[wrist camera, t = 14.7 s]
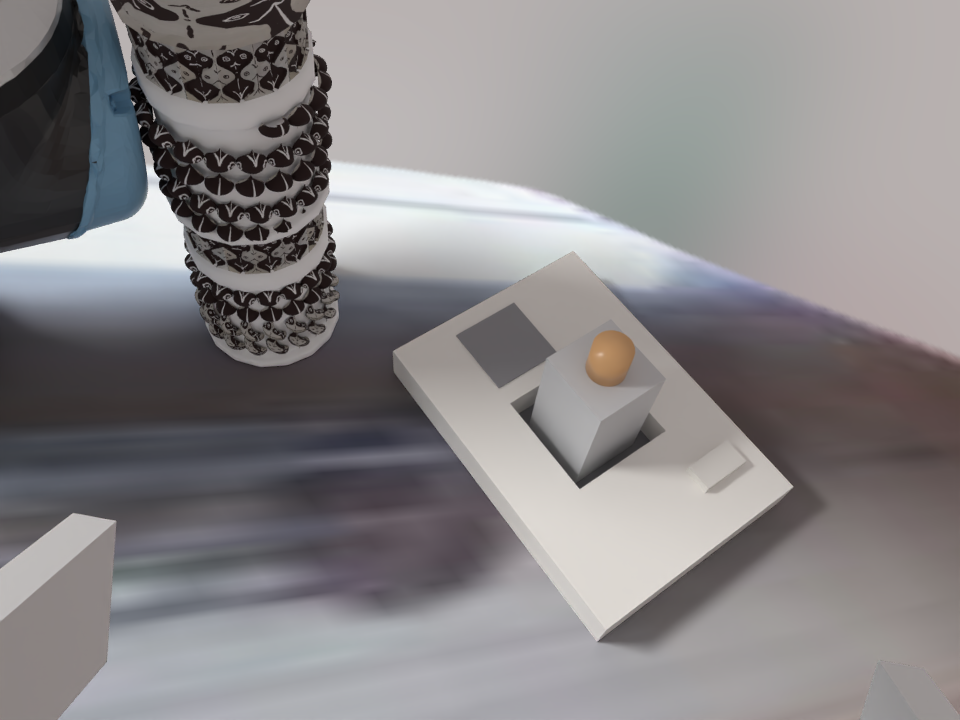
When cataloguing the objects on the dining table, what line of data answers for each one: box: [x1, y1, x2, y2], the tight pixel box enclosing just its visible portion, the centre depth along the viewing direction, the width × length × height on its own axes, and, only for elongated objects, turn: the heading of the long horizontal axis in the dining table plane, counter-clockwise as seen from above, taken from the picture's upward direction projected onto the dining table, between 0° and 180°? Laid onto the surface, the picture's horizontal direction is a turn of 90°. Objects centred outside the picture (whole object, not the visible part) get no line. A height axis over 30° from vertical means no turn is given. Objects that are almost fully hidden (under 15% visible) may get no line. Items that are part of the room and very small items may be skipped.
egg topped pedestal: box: [529, 319, 666, 483], centre depth 48 cm, size 4×4×10 cm
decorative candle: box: [110, 0, 340, 367], centre depth 45 cm, size 9×9×25 cm
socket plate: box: [393, 251, 793, 641], centre depth 51 cm, size 20×14×3 cm
